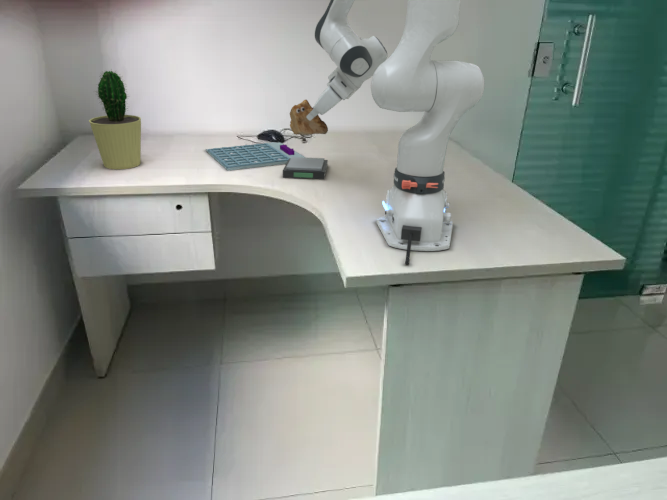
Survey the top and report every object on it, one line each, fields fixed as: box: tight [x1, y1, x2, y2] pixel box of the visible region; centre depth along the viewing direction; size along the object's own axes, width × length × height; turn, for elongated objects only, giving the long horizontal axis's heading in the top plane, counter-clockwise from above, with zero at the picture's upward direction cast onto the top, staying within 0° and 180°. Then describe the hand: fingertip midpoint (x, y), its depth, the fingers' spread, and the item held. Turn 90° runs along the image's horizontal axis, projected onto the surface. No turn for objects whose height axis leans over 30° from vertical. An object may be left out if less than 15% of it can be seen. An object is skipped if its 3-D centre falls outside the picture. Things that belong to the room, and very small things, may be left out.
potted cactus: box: [88, 68, 142, 170], centre depth 166 cm, size 15×15×30 cm
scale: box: [282, 156, 329, 180], centre depth 169 cm, size 14×13×3 cm
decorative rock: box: [289, 99, 329, 136], centre depth 161 cm, size 12×6×11 cm, turn 117°
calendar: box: [205, 141, 305, 171], centre depth 185 cm, size 27×29×2 cm
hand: (309, 116), depth 161 cm, fingers closed on decorative rock, 7 cm apart
